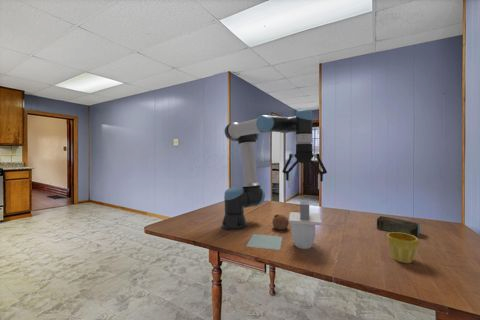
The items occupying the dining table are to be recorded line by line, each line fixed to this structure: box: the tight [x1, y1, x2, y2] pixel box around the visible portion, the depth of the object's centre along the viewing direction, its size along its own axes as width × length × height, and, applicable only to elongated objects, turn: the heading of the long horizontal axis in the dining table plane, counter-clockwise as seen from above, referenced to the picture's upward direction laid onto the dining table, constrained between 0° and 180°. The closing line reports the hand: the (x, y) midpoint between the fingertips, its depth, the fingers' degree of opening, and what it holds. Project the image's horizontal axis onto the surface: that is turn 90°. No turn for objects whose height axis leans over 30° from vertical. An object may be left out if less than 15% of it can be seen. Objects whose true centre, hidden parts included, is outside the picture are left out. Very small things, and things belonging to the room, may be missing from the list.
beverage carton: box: [376, 215, 421, 238], centre depth 123 cm, size 8×19×7 cm, turn 45°
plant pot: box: [387, 232, 419, 264], centre depth 91 cm, size 10×10×10 cm
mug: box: [290, 223, 316, 250], centre depth 106 cm, size 15×11×13 cm
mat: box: [246, 233, 283, 251], centre depth 111 cm, size 16×16×1 cm
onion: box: [272, 213, 290, 231], centre depth 128 cm, size 10×9×10 cm
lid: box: [288, 199, 322, 226], centre depth 105 cm, size 14×14×8 cm
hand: (304, 187), depth 105 cm, fingers open, 13 cm apart
